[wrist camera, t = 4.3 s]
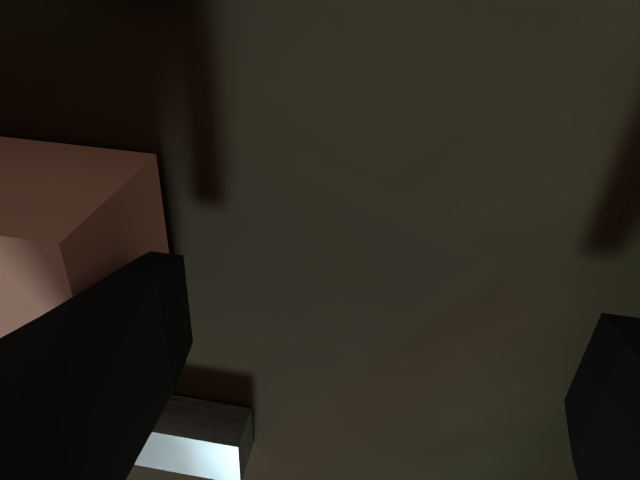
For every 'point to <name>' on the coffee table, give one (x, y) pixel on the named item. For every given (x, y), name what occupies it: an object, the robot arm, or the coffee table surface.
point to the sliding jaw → (70, 221)
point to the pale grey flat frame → (200, 439)
